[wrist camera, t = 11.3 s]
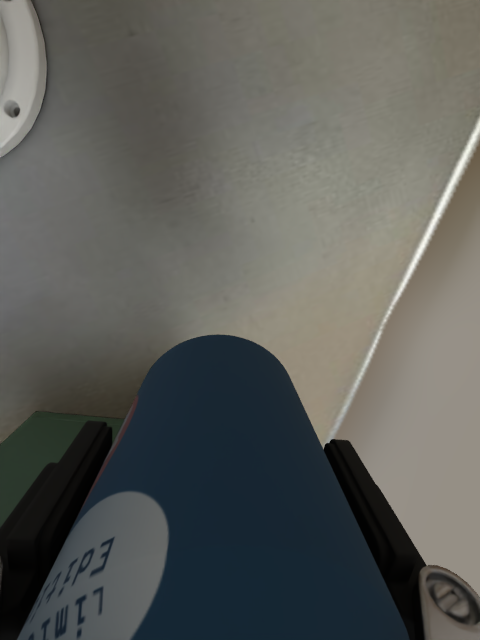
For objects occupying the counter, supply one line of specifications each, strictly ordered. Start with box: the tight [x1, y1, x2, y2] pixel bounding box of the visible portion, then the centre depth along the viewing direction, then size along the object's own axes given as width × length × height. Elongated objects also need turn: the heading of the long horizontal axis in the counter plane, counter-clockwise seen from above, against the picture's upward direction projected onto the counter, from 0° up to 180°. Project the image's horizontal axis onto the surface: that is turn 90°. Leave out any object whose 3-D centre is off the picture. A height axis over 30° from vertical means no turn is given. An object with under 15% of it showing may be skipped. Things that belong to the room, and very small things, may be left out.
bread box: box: [0, 411, 125, 527], centre depth 20 cm, size 15×16×15 cm
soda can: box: [17, 335, 410, 640], centre depth 9 cm, size 7×7×12 cm
